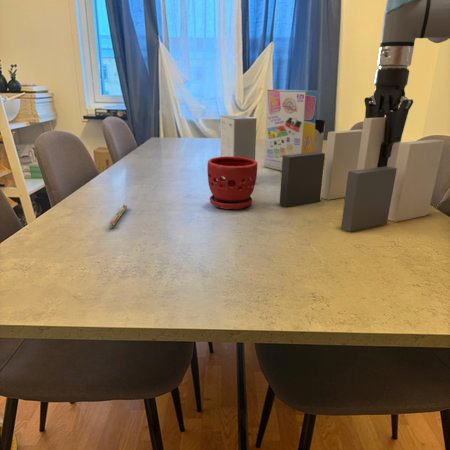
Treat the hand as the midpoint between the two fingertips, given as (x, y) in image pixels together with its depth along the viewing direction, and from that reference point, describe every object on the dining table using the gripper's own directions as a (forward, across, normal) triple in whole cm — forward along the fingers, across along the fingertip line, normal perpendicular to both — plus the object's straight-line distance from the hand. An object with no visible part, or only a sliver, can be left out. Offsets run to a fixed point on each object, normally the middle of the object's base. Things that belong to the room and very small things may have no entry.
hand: (376, 169), depth 113 cm
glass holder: (+10, -69, +39) cm, 80 cm away
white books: (+10, 0, 0) cm, 10 cm away
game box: (+10, -51, +10) cm, 53 cm away
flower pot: (+10, -19, -33) cm, 39 cm away
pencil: (+10, -22, -64) cm, 68 cm away
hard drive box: (+10, -46, -15) cm, 49 cm away
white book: (+6, 0, 0) cm, 6 cm away
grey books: (+10, 0, -15) cm, 18 cm away
